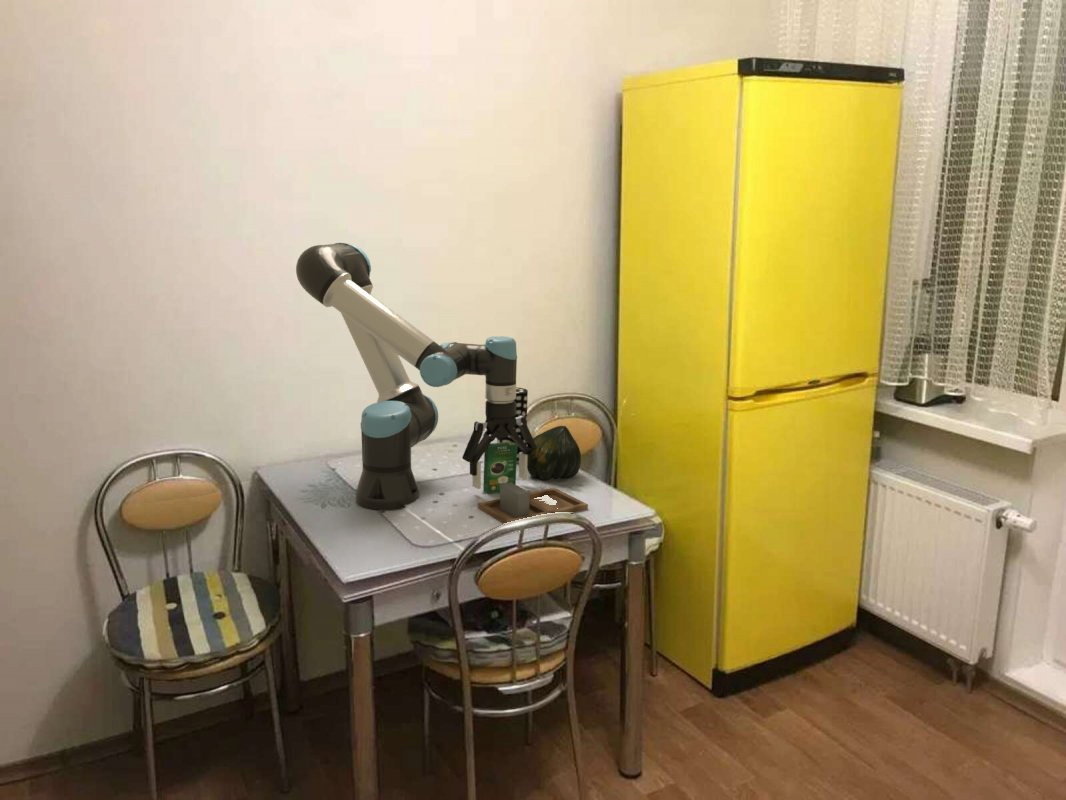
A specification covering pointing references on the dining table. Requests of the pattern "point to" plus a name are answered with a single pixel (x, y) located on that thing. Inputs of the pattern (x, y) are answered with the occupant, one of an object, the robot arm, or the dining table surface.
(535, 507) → the tray
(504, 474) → the coffee box
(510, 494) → the block
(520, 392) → the white-spotted black cylinder
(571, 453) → the squash
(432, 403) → the robot arm
